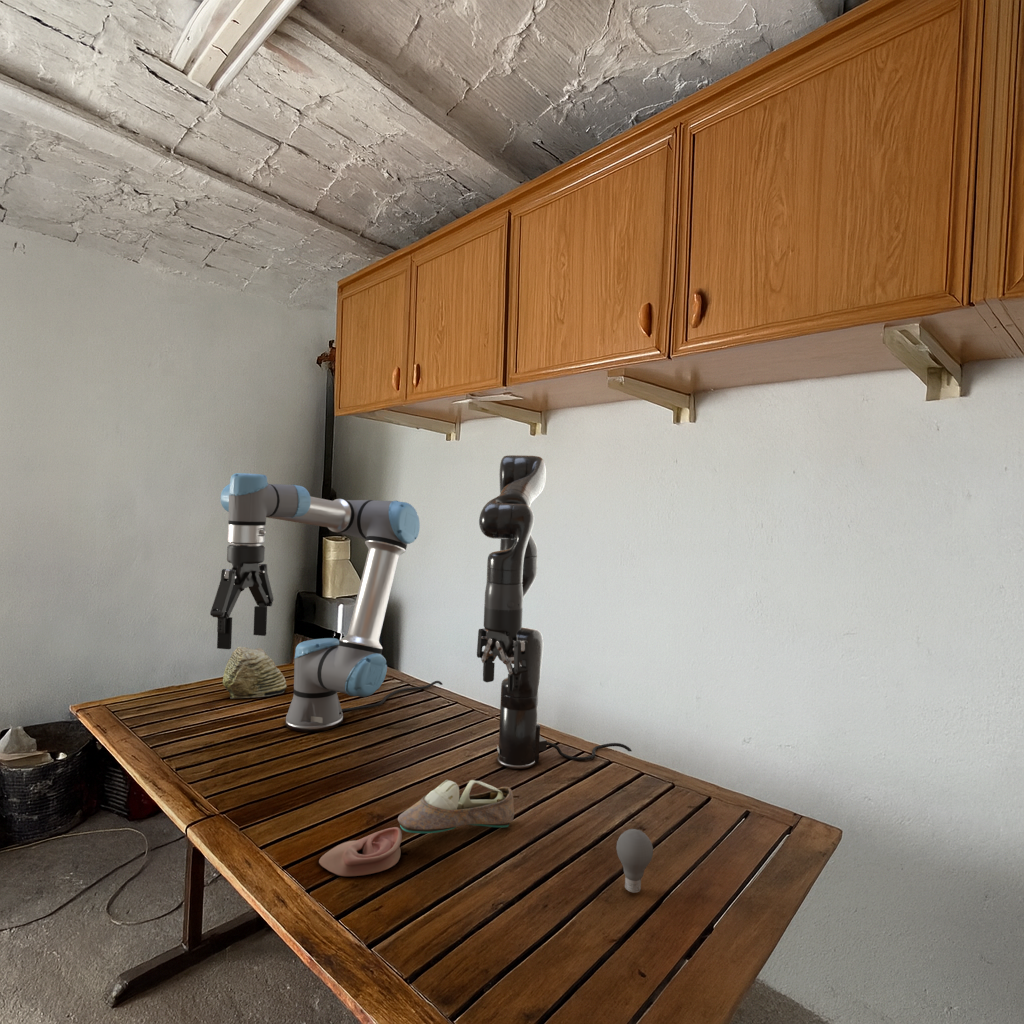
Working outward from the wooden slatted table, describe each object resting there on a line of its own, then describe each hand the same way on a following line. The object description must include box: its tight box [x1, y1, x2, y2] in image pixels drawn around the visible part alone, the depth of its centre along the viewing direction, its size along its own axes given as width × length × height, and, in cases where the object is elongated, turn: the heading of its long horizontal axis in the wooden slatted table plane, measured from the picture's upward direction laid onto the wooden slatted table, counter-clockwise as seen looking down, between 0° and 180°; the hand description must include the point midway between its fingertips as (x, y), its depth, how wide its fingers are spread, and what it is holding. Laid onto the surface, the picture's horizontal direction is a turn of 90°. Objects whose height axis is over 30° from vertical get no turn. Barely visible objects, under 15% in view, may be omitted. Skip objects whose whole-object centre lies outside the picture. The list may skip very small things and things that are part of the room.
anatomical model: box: [318, 826, 403, 877], centre depth 111 cm, size 13×4×12 cm
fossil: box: [222, 646, 288, 699], centre depth 198 cm, size 9×18×15 cm, turn 132°
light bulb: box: [615, 828, 654, 894], centre depth 106 cm, size 6×6×10 cm
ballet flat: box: [397, 779, 515, 834], centre depth 121 cm, size 8×25×8 cm, turn 125°
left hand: (242, 641), depth 138 cm, fingers open, 13 cm apart
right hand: (500, 687), depth 124 cm, fingers open, 8 cm apart
